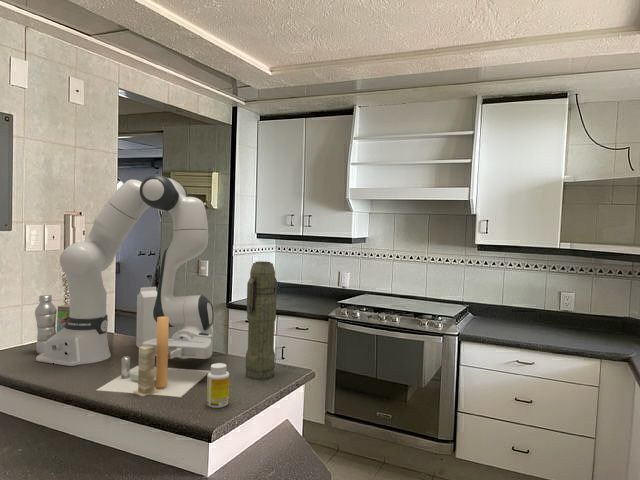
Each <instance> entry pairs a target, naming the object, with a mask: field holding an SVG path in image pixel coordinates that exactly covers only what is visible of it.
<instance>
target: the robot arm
mask: <svg viewBox="0 0 640 480" xmlns="http://www.w3.org/2000/svg"><path fill="white" fill-rule="evenodd" d="M150 208H153V209H155V210H158V211H160V212H167V213H169V214H170V216H171V218H172V222H173V223H172V224H173V226H172V227H173V230H172V233H173V236H172V240H171V243H170V245H169V246H168V247H167V248H165V250H164V252H163V256H162V259H161V265H160V270H159V271H160V272H159V277H158V285H157V298H156V301H155V305H154V309H153V317H154V320H155V321H156V322H157V317H162V316H166V317H169V326H168V328H175V327H182V328H181V329H180V330H178V331H175V332H174V334H173V335H172V336H171V338H169V337H168V360H169V359H170V360H172V359H174V358H179V359H183V360H185V359H186V360H187V359H201V360H206V359H210V358H211V356H212V355H213V351H214V338H213V337H214V326H213V323H214V316H215V315H214V309H213V308H214V306H213V305H212V303H211V301H210V300H209V299H208V298H207V297H206V296H205V295H204V294H203V295H202V294H201V295H200V294H198V295H185V296H181V295H179V296H176V295H175V296H174V287H175V281H176V273H177V271H178V269H179V268H180V266H182V265H183V264H184V263H187V262H189V261H191V260H193V259H195V258H197V257H199V256H200V255H202V254H203V253H204V251H205V250H206V249H207V247H208V244H209V223H208V217H207V216H208V215H207V211H206V206H205V204H204V202H203V201H202V200H201V199H199V198H198V197H194V196H189V194H188V191H187V189H186V188H185V186H183V185H182V184H181V183H179V182H177V180H174V179H172V178H170V177H166V176H164V175H161V174H154V175H153V174H152V175H149V176H147V177H146V178H145V179H143V180H142V181H140V180H138V179H128V180H127V181H125V182H123V184H122V185H120V186H119V188H118V189H117V190H116V191H115V192H114V193H113V194H112V196H111V197H110V198H109V200H108V201H107V202H106V204H105V205H104V206H103V207H102V209H101V210H100V212H99V213H98V214H97V216H96V217H95V218H94V221H93V225H92V227H91V229H90V232H89V233H88V235H87V237H86V239H84V241H79V242H78V241H77V242H75V243H74V242H73V243H72V244H70V245H69V246H67V247H66V248H65V249H63V251H62V252H61V253H60V256H59V265H60V267H61V269H62V270H63V271H64V273H65V279H66V283H67V287H68V296H69V298H68V299H69V300H68V301H69V303H68V304H69V316H68V317H67V318H65V319H62V320H64V321H62V322H61V323H64V322H65V325H64V328H63V329H61V330H60V331H59V332H57V331H56V334H55V335H53V336H52V337H51V338H49V339H48V340H47V342H46V344H45V349H44V353H42V354H37V356H36V358H35V361H36V362H41V363H46V364H47V363H48V364H53V363H54V365H60V366H68V367H73V366H79V365H85V364H93V363H98V362H102V361H106V360H108V359H110V358H111V356H112V354H111V352H110V349H109V342H108V325H109V324H108V323H109V322H108V321H109V319H108V318H109V317H108V314H107V294H108V293H107V289H106V288H105V286H104V281H103V276H102V272H103V271H105V270H106V269H108V268H109V267H110V266H111V265H112V263H114V259H115V257H116V256H117V254H118V252H119V250H120V248H121V246H122V244H123V242H124V241H125V239H126V238H127V236H128V235H129V233H130V232H131V230H132V229H133V227H134V226H135V225H136V223H137V222H138V221H139V220H140V218H141V216H143V214H144V213H145V212H146V210H148V209H150ZM147 345H150V346H153V347H155V357H157V338H154V339H150V340H147V341H145V342H143V343H142V346H147Z"/></svg>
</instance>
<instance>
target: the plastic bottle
mask: <svg viewBox="0 0 640 480" xmlns="http://www.w3.org/2000/svg"><path fill="white" fill-rule="evenodd" d="M38 297H39V299H38V302H39V304H38V305H37V307H36V308H35V310H34V316H35V321H36V329H37V336H36V337H37V339H36V344H35V350H36V353H37V355H40V354H42V353H44V349H45V344H46V342H47V340H48V339H49V338H51V337H52V336H53V335H55V334H56V333H57V313H58V309H57V307H56V306H55V305H54V304H53V302H52V301H53V298H52V297H53V295H52V294H45V295H44V294H43V295H39V296H38Z"/></svg>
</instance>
